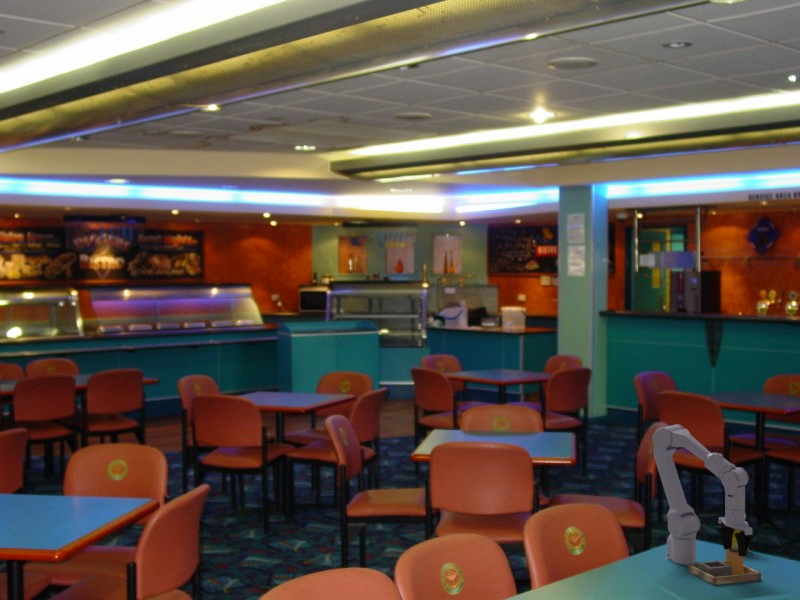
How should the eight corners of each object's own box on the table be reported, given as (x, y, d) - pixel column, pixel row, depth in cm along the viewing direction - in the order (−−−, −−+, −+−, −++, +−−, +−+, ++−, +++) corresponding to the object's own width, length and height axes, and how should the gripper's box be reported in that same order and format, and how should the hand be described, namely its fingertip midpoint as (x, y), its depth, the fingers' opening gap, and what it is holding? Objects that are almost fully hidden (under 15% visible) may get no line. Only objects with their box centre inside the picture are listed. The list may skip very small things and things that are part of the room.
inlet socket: (698, 573, 306) (698, 562, 306) (719, 571, 309) (719, 560, 308) (710, 580, 300) (710, 568, 300) (731, 577, 302) (731, 566, 302)
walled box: (687, 574, 310) (687, 564, 309) (733, 569, 314) (733, 559, 314) (714, 588, 296) (714, 578, 296) (760, 583, 300) (760, 573, 300)
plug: (726, 572, 307) (726, 548, 307) (737, 571, 308) (737, 547, 308) (732, 575, 304) (732, 551, 304) (743, 574, 305) (743, 549, 305)
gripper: (761, 512, 300) (761, 557, 300) (732, 502, 314) (732, 545, 314) (740, 514, 298) (740, 560, 298) (712, 503, 312) (712, 547, 312)
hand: (735, 552), depth 306 cm, fingers open, 7 cm apart
